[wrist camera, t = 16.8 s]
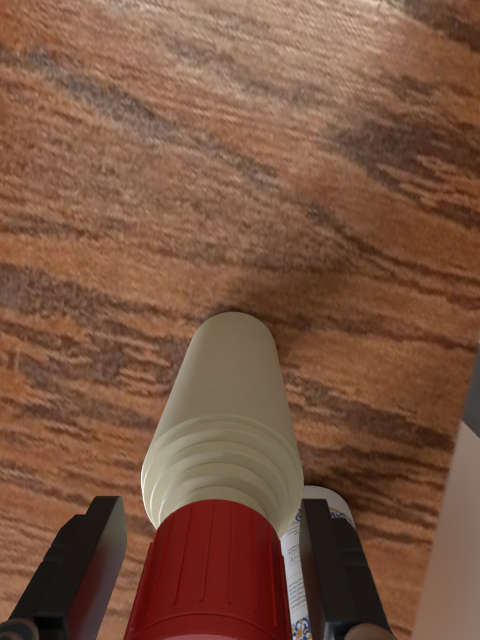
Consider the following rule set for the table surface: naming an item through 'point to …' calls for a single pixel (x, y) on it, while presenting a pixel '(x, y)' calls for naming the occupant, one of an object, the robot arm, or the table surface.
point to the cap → (212, 578)
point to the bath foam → (293, 564)
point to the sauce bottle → (226, 428)
